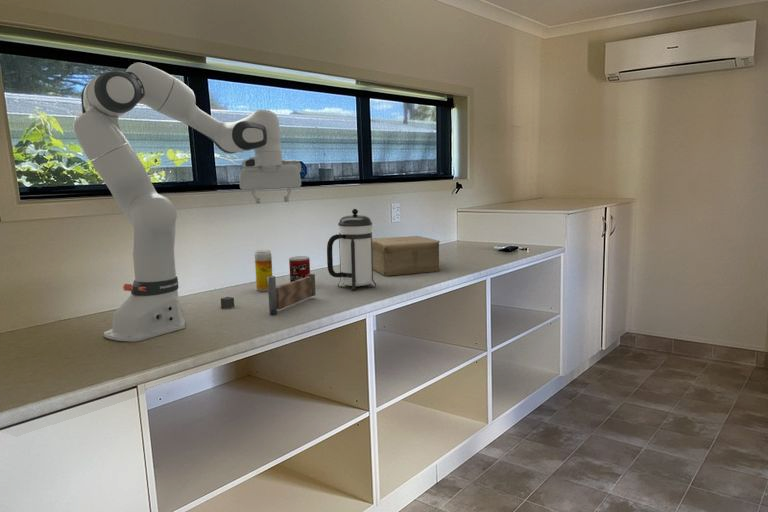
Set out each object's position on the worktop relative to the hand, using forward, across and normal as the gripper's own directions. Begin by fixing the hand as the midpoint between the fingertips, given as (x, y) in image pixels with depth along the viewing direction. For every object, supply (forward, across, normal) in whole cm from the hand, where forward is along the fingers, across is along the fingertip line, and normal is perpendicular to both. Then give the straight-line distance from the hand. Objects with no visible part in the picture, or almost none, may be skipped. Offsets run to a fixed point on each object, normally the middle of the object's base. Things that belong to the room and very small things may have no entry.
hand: (272, 202), depth 181 cm
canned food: (+35, -7, -24) cm, 43 cm away
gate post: (+34, +1, +18) cm, 38 cm away
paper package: (+37, -52, -47) cm, 79 cm away
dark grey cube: (+34, +17, +5) cm, 38 cm away
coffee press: (+35, -27, -15) cm, 47 cm away
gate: (+33, -6, +7) cm, 34 cm away
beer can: (+34, +6, -18) cm, 39 cm away
